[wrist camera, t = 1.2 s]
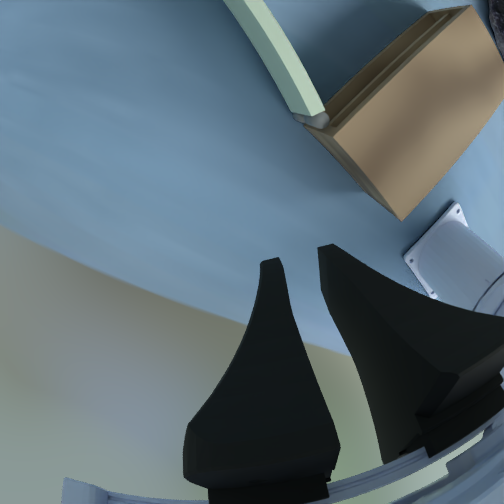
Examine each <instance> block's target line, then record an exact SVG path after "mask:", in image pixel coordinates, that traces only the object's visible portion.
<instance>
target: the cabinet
mask: <svg viewBox="0 0 504 504" xmlns="http://www.w3.org/2000/svg"><path fill="white" fill-rule="evenodd" d="M503 99H504V62H503V60H502V58H501V56H500V54H499V52H498V50H497V48H496V46H495V44H494V42H493V40H492V38H491V36H490V34H489V32H488V31H487V29H486V27H485V25H484V24H483V22H482V20H481V19H480V17H479V15H478V14H477V12H476V11H475V9H474V8H473V6H472V5H465V6H458V7H451V8H445V9H439V10H434V11H429V12H427V13H426V14H425V15H423V16H422V17H421V18H420V19H418V20H417V21H416V22H415V23H414V24H412V25H411V26H410V27H409V28H408V29H406V30H405V31H404V32H403V33H402V34H400V35H399V36H398V37H397V38H396V39H395V40H394V41H392V42H391V43H390V44H389V45H388V46H387V47H385V48H384V49H383V50H382V51H381V52H380V53H379V54H378V55H376V56H375V57H374V58H373V59H372V60H371V61H370V62H369V63H368V64H367V65H365V66H364V67H363V68H362V69H361V70H360V71H359V72H358V73H357V74H356V75H355V76H354V77H353V78H351V79H350V80H349V81H348V82H347V83H346V84H345V85H344V86H343V87H342V88H341V89H340V90H339V91H338V92H337V93H336V94H335V95H334V96H333V97H332V98H331V99H330V100H328V101H327V102H326V103H325V104H324V105H323V106H324V108H325V111H323V112H325V113H326V114H327V115H328V116H329V119H330V122H329V125H328V126H327V127H326V128H323V129H319V128H316V127H313V126H311V125H308V124H304V125H303V126H304V127H305V128H306V129H307V130H308V131H309V132H310V133H311V134H312V135H313V136H314V137H315V138H316V139H317V140H318V141H319V142H320V143H321V144H322V145H323V146H324V147H325V148H326V149H327V150H328V151H329V152H330V153H331V154H332V156H333V157H334V158H335V159H336V160H337V161H338V162H339V163H340V164H341V165H342V166H343V167H344V169H345V170H346V171H347V172H348V173H349V174H350V175H351V176H352V178H353V179H354V180H355V181H356V182H357V183H358V185H359V186H360V187H361V188H362V189H363V190H364V192H365V193H367V194H368V195H369V196H371V197H372V198H373V199H374V200H376V201H377V202H378V203H379V204H381V205H382V206H383V207H384V208H386V209H387V210H388V211H389V212H390V213H392V214H393V215H394V216H395V217H396V218H398V219H399V220H400V221H401V222H402V221H403V220H404V219H405V218H406V217H407V216H408V215H409V214H410V212H411V211H412V210H413V209H414V208H415V207H416V206H417V205H418V204H419V203H420V202H421V201H422V200H423V199H424V198H425V196H426V195H427V194H428V193H429V192H430V191H431V190H432V189H433V188H434V186H435V185H436V184H437V183H438V182H439V181H440V180H441V179H442V177H443V176H444V175H445V174H446V173H447V172H448V170H449V169H450V168H451V167H452V166H453V165H454V163H455V162H456V161H457V160H458V159H459V157H460V156H461V155H462V154H463V152H464V151H465V150H466V149H467V148H468V146H469V145H470V144H471V143H472V141H473V140H474V139H475V137H476V136H477V135H478V134H479V132H480V131H481V130H482V128H483V127H484V126H485V124H486V123H487V122H488V120H489V119H490V117H491V116H492V115H493V113H494V112H495V110H496V109H497V108H498V106H499V105H500V103H501V102H502V100H503Z"/></svg>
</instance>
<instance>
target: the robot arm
mask: <svg viewBox="0 0 504 504" xmlns="http://www.w3.org/2000/svg"><path fill="white" fill-rule="evenodd" d="M317 249H318V259H319V270H320V283H321V291H322V294H323V296H324V299H325V302H326V305H327V307H328V310H329V312H330V314H331V316H332V318H333V320H334V322H335V324H336V326H337V328H338V330H339V332H340V334H341V336H342V338H343V340H344V342H345V344H346V346H347V348H348V350H349V352H350V354H351V356H352V358H353V361H354V363H355V365H356V368H357V371H358V373H359V376H360V379H361V382H362V385H363V388H364V391H365V395H366V398H367V401H368V404H369V407H370V411H371V415H372V419H373V422H374V426H375V430H376V434H377V439H378V443H379V448H380V453H381V458H382V461H383V464H384V465H382V466H380V467H377V468H375V469H372V470H370V471H367V472H364V473H361V474H358V475H355V476H352V477H349V478H346V479H343V480H339V481H336V482H332V483H329V484H327V483H326V482H330V481H331V478H330V476H331V473H332V470H334V469H335V466H336V463H337V459H338V455H339V451H340V448H341V447H340V443H339V439H338V436H337V432H336V429H335V425H334V422H333V419H332V417H331V415H330V412H329V410H328V407H327V405H326V402H325V400H324V397H323V395H322V392H321V390H320V387H319V385H318V383H317V380H316V377H315V374H314V372H313V369H312V366H311V364H310V361H309V359H308V356H307V353H306V350H305V347H304V345H303V342H302V339H301V336H300V333H299V331H298V328H297V325H296V322H295V319H294V316H293V313H292V309H291V305H290V300H289V294H288V289H287V283H286V278H285V273H284V268H283V265H282V263H281V261H280V259H279V257H277V258H273V259H269V260H265V261H262V262H261V263H260V279H259V286H258V291H257V295H256V300H255V304H254V307H253V311H252V314H251V317H250V320H249V323H248V326H247V329H246V331H245V334H244V336H243V339H242V341H241V343H240V346H239V348H238V350H237V352H236V354H235V356H234V358H233V360H232V362H231V363H230V365H229V367H228V369H227V370H226V372H225V374H224V375H223V377H222V378H221V380H220V382H219V383H218V385H217V386H216V388H215V389H214V391H213V393H212V394H211V395H210V397H209V398H208V400H207V401H206V402H205V403H204V405H203V406H202V407H201V409H200V410H199V411H198V412H197V414H196V415H195V416H194V417H193V419H192V420H191V421H190V422H189V423H188V426H187V430H186V434H185V440H184V446H183V475H184V478H185V479H187V480H188V481H189V482H191V483H194V484H196V485H199V486H202V487H205V488H207V489H208V499H209V500H207V501H205V500H203V501H202V500H198V501H197V500H195V501H194V500H171V499H158V498H149V497H140V496H133V495H127V494H121V493H115V492H110V491H107V490H106V489H103V488H100V487H98V486H95V485H92V484H88V483H84V482H81V481H77V480H74V479H70V478H67V477H65V478H64V482H63V490H62V501H61V504H332V503H335V502H339V501H342V500H346V499H349V498H352V497H355V496H358V495H361V494H364V493H367V492H370V491H372V490H375V489H378V488H380V487H383V486H385V485H388V484H390V483H392V482H395V481H397V480H400V479H402V478H404V477H406V476H408V475H410V474H412V473H414V472H416V471H418V470H420V469H422V468H424V467H426V466H428V465H430V464H432V463H433V462H435V461H437V460H439V459H441V458H442V457H444V456H446V455H447V454H449V453H451V452H452V451H454V450H456V449H457V448H459V447H460V446H462V445H463V444H465V443H466V442H468V441H469V440H471V439H472V438H474V437H475V436H476V435H478V434H479V433H481V432H482V431H483V430H484V433H483V438H482V439H481V440H480V441H479V442H477V443H476V444H475V445H473V446H472V447H470V448H469V449H467V450H466V451H464V452H463V453H461V454H460V455H458V456H457V457H455V458H453V459H452V460H450V461H449V462H447V463H446V467H447V470H448V472H449V473H448V474H447V475H445V476H443V477H442V478H440V479H438V480H436V481H435V482H432V483H431V484H429V485H427V486H425V487H423V488H421V489H419V490H417V491H415V492H412V493H411V494H408V495H406V496H404V497H401V498H399V499H397V500H394V501H393V502H390V503H387V504H504V257H503V256H501V255H500V254H499V253H498V252H497V251H496V250H495V249H493V248H492V247H491V246H490V245H489V244H488V243H486V242H485V241H484V240H483V239H482V238H480V237H479V236H478V235H477V234H475V233H474V232H473V231H472V230H470V229H469V227H468V225H467V222H466V219H465V217H464V214H463V212H462V209H461V207H460V205H459V203H458V202H454V203H453V204H452V205H451V206H450V207H449V208H448V209H447V210H446V212H445V213H444V214H443V215H442V216H441V217H440V218H439V219H438V220H437V222H436V223H435V224H434V225H433V226H432V227H431V228H430V229H429V230H428V231H427V232H426V233H425V234H424V235H423V236H422V237H421V238H420V240H419V241H418V242H417V243H416V244H415V245H414V246H413V247H412V248H411V249H410V250H409V251H408V252H407V253H406V254H405V255H404V260H405V262H406V263H407V265H408V266H409V267H410V269H411V270H412V271H413V273H414V274H415V276H416V277H417V278H418V280H419V281H420V283H421V284H422V286H423V287H424V288H425V290H426V291H427V293H428V294H429V296H430V297H431V298H430V297H427V296H425V295H422V294H420V293H418V292H416V291H413V290H411V289H409V288H407V287H405V286H403V285H401V284H399V283H397V282H395V281H393V280H391V279H389V278H387V277H386V276H384V275H382V274H380V273H379V272H377V271H375V270H373V269H372V268H370V267H369V266H367V265H365V264H364V263H362V262H361V261H359V260H357V259H356V258H354V257H353V256H351V255H350V254H348V253H347V252H345V251H344V250H342V249H341V248H339V247H338V246H336V245H334V244H329V245H325V246H321V247H317ZM437 296H438V297H439V298H440V300H441V301H442V302H441V301H438V300H435V298H436V297H437Z"/></svg>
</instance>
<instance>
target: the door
mask: <svg viewBox="0 0 504 504" xmlns="http://www.w3.org/2000/svg"><path fill="white" fill-rule="evenodd" d="M223 1H224V2H225V4H226V5H227V7H228V8H229V9H230V11H231V12H232V14H233V15H234V17H235V18H236V20H237V21H238V23H239V24H240V26H241V27H242V29H243V30H244V32H245V33H246V35H247V36H248V38H249V39H250V41H251V43H252V44H253V46H254V47H255V49H256V51H257V52H258V54H259V56H260V57H261V59H262V61H263V62H264V64H265V66H266V67H267V69H268V71H269V72H270V74H271V76H272V78H273V79H274V81H275V83H276V85H277V87H278V88H279V90H280V92H281V94H282V96H283V98H284V99H285V101H286V103H287V105H288V107H289V109H290V111H291V112H293V118H294V119H295V120H296V121H298V122H302V123H305V124H308V125H311V126H313V127H316V128H319V129H323V128H326V127H327V126H328V125H329V122H330V119H329V116H328V115H327V114H326V113H325V112H323V111H325V108H324V106H323V104H322V102H321V100H320V98H319V96H318V94H317V92H316V90H315V88H314V86H313V84H312V82H311V80H310V78H309V76H308V74H307V72H306V70H305V68H304V67H303V65H302V63H301V61H300V59H299V57H298V56H297V54H296V52H295V50H294V49H293V47H292V45H291V44H290V42H289V40H288V38H287V37H286V35H285V34H284V32H283V30H282V29H281V27H280V25H279V24H278V22H277V21H276V19H275V18H274V16H273V15H272V13H271V12H270V10H269V9H268V7H267V6H266V4H265V3H264V1H263V0H223Z"/></svg>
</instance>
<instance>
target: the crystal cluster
mask: <svg viewBox="0 0 504 504" xmlns="http://www.w3.org/2000/svg"><path fill="white" fill-rule="evenodd" d="M488 1H489V10H490V15H489V19H490V23H491V27H492V29H493V31H494V33H495V38H496V43H497V46H498V48H499V50H500V51H501V53H502V56H503V59H504V0H488Z"/></svg>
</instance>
